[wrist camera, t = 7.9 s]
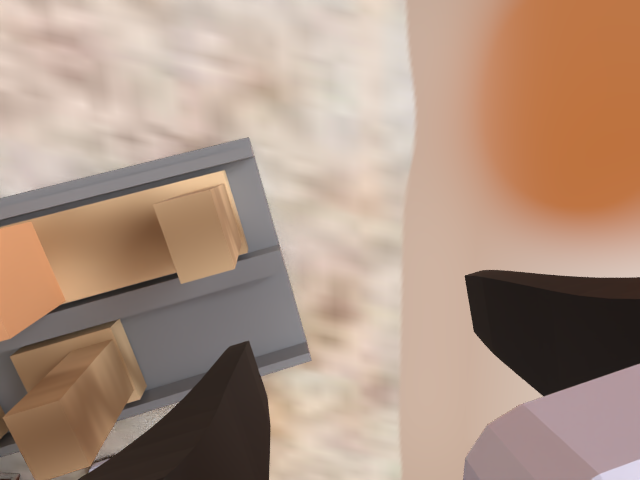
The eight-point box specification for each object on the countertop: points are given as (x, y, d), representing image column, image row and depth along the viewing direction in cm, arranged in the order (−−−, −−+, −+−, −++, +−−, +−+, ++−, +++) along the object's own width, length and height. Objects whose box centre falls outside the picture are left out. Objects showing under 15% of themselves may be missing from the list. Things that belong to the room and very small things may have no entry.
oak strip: (248, 247, 20) (242, 283, 14) (11, 312, 19) (-108, 382, 13) (224, 170, 19) (207, 171, 13) (-26, 233, 18) (-176, 268, 12)
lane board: (308, 345, 22) (312, 362, 20) (-82, 465, 20) (-117, 495, 18) (249, 138, 19) (247, 134, 18) (-211, 251, 17) (-268, 261, 15)
